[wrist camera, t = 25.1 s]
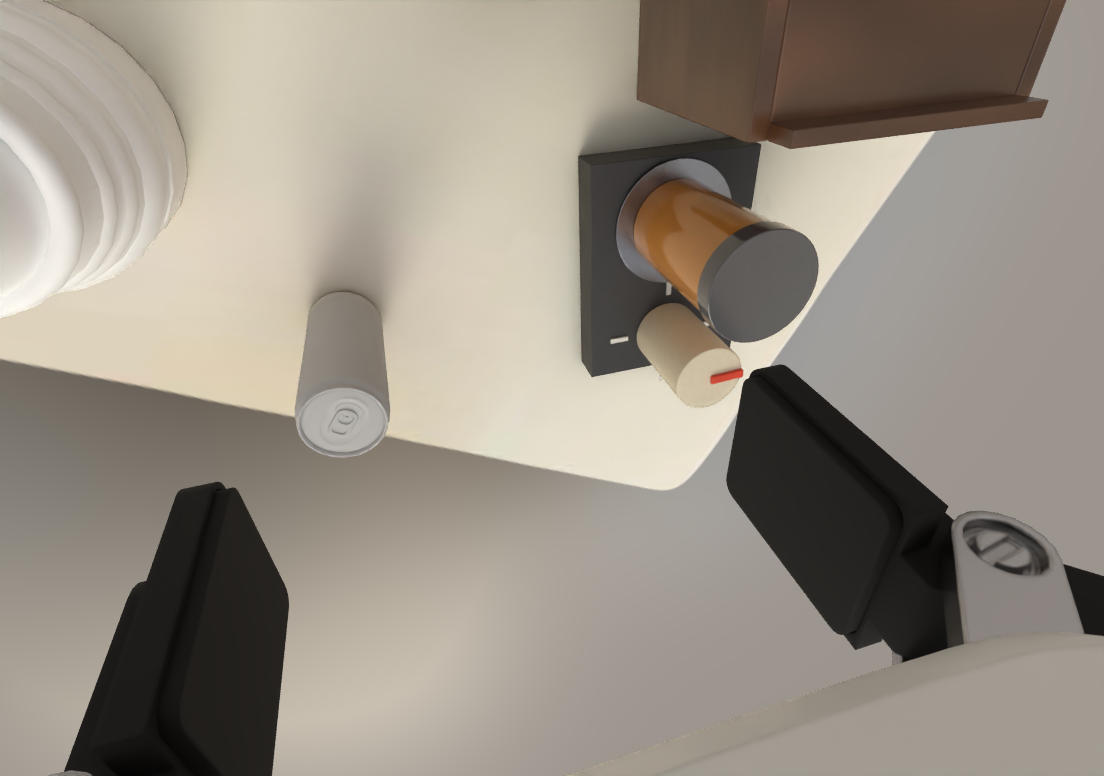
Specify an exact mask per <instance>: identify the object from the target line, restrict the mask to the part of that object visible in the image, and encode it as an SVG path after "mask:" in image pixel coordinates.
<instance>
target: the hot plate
mask: <svg viewBox="0 0 1104 776" xmlns="http://www.w3.org/2000/svg"><path fill="white" fill-rule="evenodd" d="M760 149H761V144H759V143H756V142H751V143H747V142H745V141H742V140H740V139H737V138H728V139H719V140H711V141H702V142H694V143H685V144H677V145H668V146H660V147H652V148H643V149H635V150H626V151H618V152H609V153H601V154H592V155H584V156H578V168H579V227H580V287H581V346H582V362H583V364H584V365H585V367H586V369H587V370H588V372H589V374H590V375H591V377H595V376H600V375H605V374H610V373H615V372H620V371H625V370H630V369H635V368H640V367H645V366H650V365H652V364H651V363H650V362H649V360H648V359H647V358H646V357H645V355H644V354H643V353H642V352H641V350H640V349H639V347H638V344H637V331H638V328H639V326H640V323H641V322H642V320H643V319H644V317H645V316H646V315H647V314H648V313H649V312H650V311H652V310H653V309H655V308H656V307H658V306H661V305H663V304H667V303H678V304H682V305H684V306H686V307H687V308H688V309H689V310H690V311H691V312H692V313H693V314H694V315H696V316H697V317H698V318H699V319H700V320H701V321H702V322H703V323H704V324H705V325H706V326H707V327H708V328H709V329H710V330H711V331H712V332H713V333H715V334H716V335H717V336H718V337H719V338H720V339H721V340H722V341H723V342H724V343H725V344H726V345H727V346H728V347H729V348H730V343H731V340H728V339H726V338H724V337H722V336H721V335H720V334H719V333H717V332H716V331H715V330H714V329H713V328H712V327H711V326H710V325H709V324H708V323H707V322H706V321H705V320H704V318H703V316H702V315H701V312H700V311H699V310H698V309H697V308H696V307H695V306H694V305H693V304H692V303H690V302H689V301H688V300H687V299H686V298H685V297H684V296H683V295H682V294H681V293H680V292H679V291H678V290H676V289H675V288H674V287H673V286H672V285H671V284H670V283H669V282H665V283H658V282H651V281H647V280H644V279H642V278H640V277H638V276H637V275H635V274H634V273H633V272H631V271H630V270H629V269H628V268H627V267H626V265H625V264H624V262H623V261H622V259H621V257H620V255H619V253H618V250H617V246H616V241H615V224H616V219H617V214H618V211H619V208H620V206H621V203H622V201H623V199H624V197H625V196H626V194H627V192H628V191H629V189H630V188H631V187H632V185H633V184H634V183H635V182H636V181H637V180H638V179H639V178H640V177H641V176H642V175H643V174H644V173H645V172H646V171H648V170H649V169H651V168H652V167H654V166H656V165H658V164H660V163H662V162H664V161H667V160H670V159H675V158H683V157H688V158H696V159H699V160H702V161H704V162H707V163H709V164H710V165H712V166H713V167H715V168H716V169H717V170H718V171H719V172H720V173H721V174H722V176H723V177H724V178H725V180H726V182H727V184H728V187H729V190H730V193H731V198H732V200H734V201H735V202H737V203H739V204H741V205H743V206H744V207H746V208H748V209H750V210H751V207H752V200H753V194H754V187H755V181H756V175H757V168H758V162H759V155H760ZM659 379H660V380H663V378H662V377H661V375H660V376H659Z"/></svg>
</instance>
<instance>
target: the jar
mask: <svg viewBox="0 0 1104 776" xmlns="http://www.w3.org/2000/svg"><path fill="white" fill-rule="evenodd" d="M634 241H635V245H636V248H637V250H638V252H639V254H640V255H641V257H642V258H643V259H644V260H645V261H646V262H647V263H648V264H649V265H650V266H652V267H653V268H654V269H655V270H656V271H657V272H658V273H659V274H660V275H661V276H662V277H663V278H665V279H666V280H667V281H668V282H669V283H670V284H671V285H672V286H673V287H674V288H675V289H676V290H678V291H679V292H680V293H681V294H682V295H683V296H684V297H685V298H686V299H687V300H688V301H689V302H690V303H692V304H693V305H694V306H695V307H696V308H697V309H698V310H699V311H700V312H701V315H702V316H703V318H704V320H705V321H706V322H707V323H708V324H709V325H710V326H711V327H712V328H713V329H714V330H715V331H716V332H717V333H719V334H720V335H721V336H722V337H724V338H726V339H728V340H731V341H734V342H741V343H745V342H755V341H759V340H762V339H765V338H767V337H769V336H771V335H774V334H775V333H777V332H779V331H780V330H782V329H783V328H784V327H786V326H787V325H788V324H789V323H790V322H791V321H793V320H794V319H795V318H796V316H797V315H798V314H799V313H800V312H801V311H802V309H803V308H804V307H805V305H806V303H807V302H808V300H809V298H810V296H811V295H812V292H813V290H814V287H815V284H816V281H817V276H818V266H819V265H818V257H817V253H816V250H815V248H814V246H813V244H812V243H811V241H810V240H809V239H808V238H807V237H806V236H805V235H803V234H802V233H800V232H798V231H796V230H795V229H793V228H791V227H789V226H787V225H785V224H783V223H779V222H772V221H770V220H768V219H766V218H764V217H763V216H761V215H759V214H757V213H755V212H753V211H752V210H750V209H748V208H746V207H744V206H743V205H741V204H739V203H737V202H735V201H734V200H732V199H730V198H728V197H726V196H725V195H723V194H721V193H719V192H717V191H716V190H714V189H712V188H710V187H708V186H706V185H705V184H703V183H701V182H699V181H697V180H693V179H687V178H683V179H676V180H672V181H669V182H667V183H665V184H663V185H661V186H660V187H658V188H657V189H656V190H654V191H653V192H652V193H651V194H650V195H649V196H648V197H647V198H646V200H645V201H644V202H643V204H642V206H641V207H640V209H639V211H638V214H637V217H636V220H635V224H634Z"/></svg>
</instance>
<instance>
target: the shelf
mask: <svg viewBox="0 0 1104 776" xmlns="http://www.w3.org/2000/svg"><path fill="white" fill-rule="evenodd" d="M1065 2H1066V0H641V2H640V30H639V57H638V84H637V100H639V101H642V102H644V103H647V104H649V105H652V106H654V107H657V108H660V109H662V110H665V111H667V112H670V113H673V114H675V115H678V116H680V117H683V118H685V119H688V120H691V121H693V122H696V123H698V124H701V125H703V126H706V127H709V128H711V129H714V130H716V131H719V132H722V133H724V134H727V135H729V136H732V137H734V138H737V139H740V140H742V141H745V142H747V143H751V142H760V141H766V140H768V141H770V142H773V143H776V144H778V145H781V146H784V147H787V148H789V149H794V148H802V147H810V146H818V145H826V144H834V143H842V142H850V141H858V140H866V139H874V138H882V137H890V136H898V135H906V134H914V133H922V132H930V131H938V130H945V129H954V128H962V127H970V126H977V125H986V124H994V123H1001V122H1010V121H1018V120H1026V119H1034V118H1041V117H1042V115H1043V113H1044V111H1045V108H1046V106H1047V103H1048V100H1045V99H1039V98H1033V97H1029V95H1030V93H1031V90H1032V87H1033V85H1034V82H1035V80H1036V77H1037V74H1038V72H1039V69H1040V67H1041V64H1042V62H1043V59H1044V57H1045V54H1046V51H1047V49H1048V46H1049V43H1050V41H1051V38H1052V36H1053V33H1054V31H1055V28H1056V26H1057V23H1058V20H1059V17H1060V15H1061V13H1062V10H1063V7H1064V5H1065Z"/></svg>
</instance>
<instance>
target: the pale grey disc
mask: <svg viewBox="0 0 1104 776" xmlns="http://www.w3.org/2000/svg"><path fill="white" fill-rule="evenodd" d="M683 178H687V179H693V180H697V181H699V182H701V183H703V184H705V185H706V186H708V187H710V188H712V189H714V190H716V191H717V192H719V193H721V194H723V195H725V196H726V197H728V198H730V199H732V198H731V193H730V190H729V187H728V184H727V182H726V180H725V178H724V177H723V176H722V174H721V173H720V172H719V171H718V170H717V169H716V168H715V167H713V166H712V165H710V164H709V163H707V162H704V161H702V160H699V159H696V158H688V157H683V158H675V159H670V160H667V161H664V162H662V163H660V164H658V165H656V166H654V167H652V168H651V169H649V170H648V171H646V172H645V173H644V174H643V175H642V176H641V177H640V178H639V179H638V180H637V181H636V182H635V183H634V184H633V185H632V187H631V188H630V189H629V191H628V192H627V194H626V196H625V197H624V199H623V201H622V203H621V206H620V208H619V211H618V214H617V219H616V224H615V241H616V246H617V250H618V253H619V255H620V257H621V259H622V261H623V262H624V264H625V265H626V267H627V268H628V269H629V270H630V271H631V272H633V273H634V274H635V275H637V276H638V277H640V278H642V279H644V280H647V281H651V282H658V283H665V282H668V281H667V280H666V279H665V278H663V277H662V276H661V275H660V274H659V273H658V272H657V271H656V270H655V269H654V268H653V267H652V266H650V265H649V264H648V263H647V262H646V261H645V260H644V259H643V258H642V257H641V255H640V254H639V252H638V250H637V248H636V245H635V241H634V224H635V220H636V217H637V214H638V211H639V209H640V207H641V206H642V204H643V202H644V201H645V200H646V198H647V197H648V196H649V195H650V194H651V193H652V192H653V191H654V190H656V189H657V188H658V187H660V186H661V185H663V184H665V183H667V182H669V181H672V180H676V179H683Z"/></svg>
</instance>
